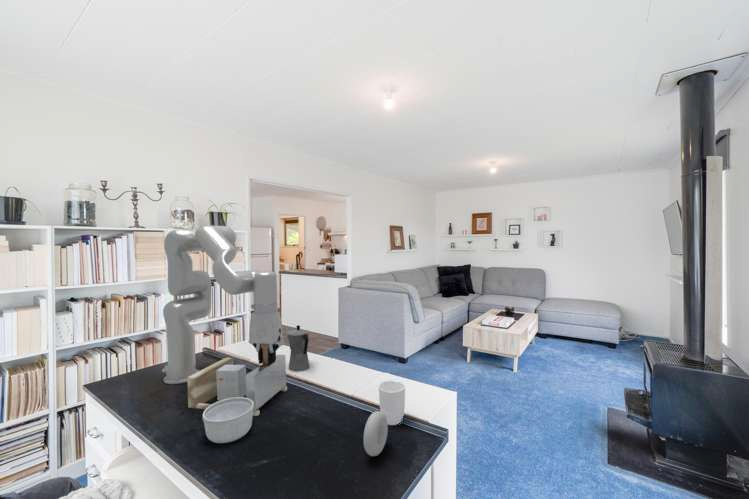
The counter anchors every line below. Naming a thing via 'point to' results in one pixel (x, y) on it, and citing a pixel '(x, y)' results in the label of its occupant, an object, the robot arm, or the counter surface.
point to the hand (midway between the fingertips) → (267, 362)
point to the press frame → (207, 386)
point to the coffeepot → (298, 349)
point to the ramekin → (228, 419)
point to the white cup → (392, 401)
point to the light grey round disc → (375, 433)
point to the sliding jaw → (266, 378)
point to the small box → (231, 381)
